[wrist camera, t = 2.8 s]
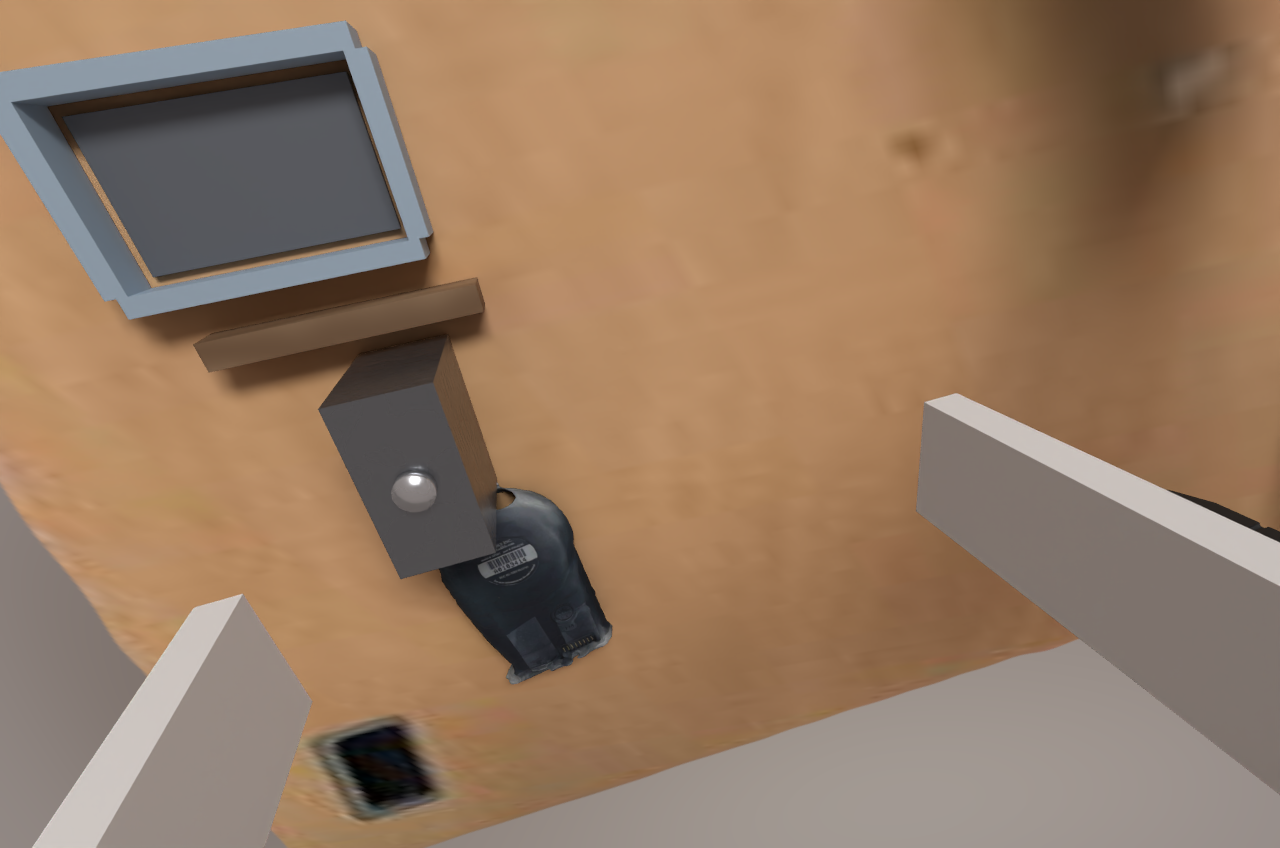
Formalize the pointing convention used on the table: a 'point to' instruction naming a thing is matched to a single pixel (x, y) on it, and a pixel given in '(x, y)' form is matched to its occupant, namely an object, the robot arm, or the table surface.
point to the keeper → (219, 165)
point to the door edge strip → (339, 325)
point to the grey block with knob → (416, 454)
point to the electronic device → (531, 590)
